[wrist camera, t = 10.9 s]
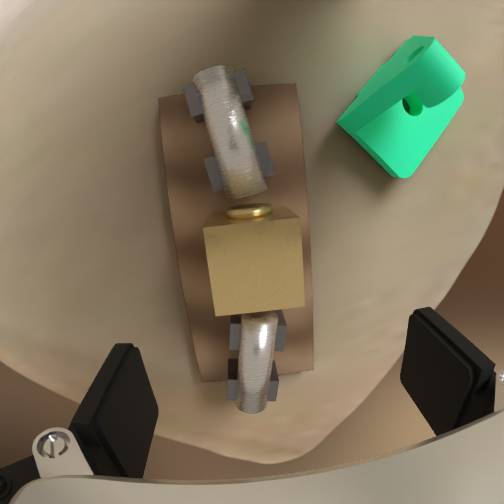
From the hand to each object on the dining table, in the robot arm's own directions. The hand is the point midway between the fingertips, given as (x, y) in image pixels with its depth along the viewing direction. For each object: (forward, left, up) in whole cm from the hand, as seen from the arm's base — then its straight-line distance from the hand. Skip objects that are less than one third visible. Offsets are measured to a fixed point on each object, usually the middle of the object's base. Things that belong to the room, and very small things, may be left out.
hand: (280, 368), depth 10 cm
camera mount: (-11, +15, -19) cm, 26 cm away
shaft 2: (+9, -1, -17) cm, 19 cm away
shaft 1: (-9, -1, -17) cm, 19 cm away
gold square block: (0, 0, -17) cm, 17 cm away
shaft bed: (0, -1, -18) cm, 18 cm away
